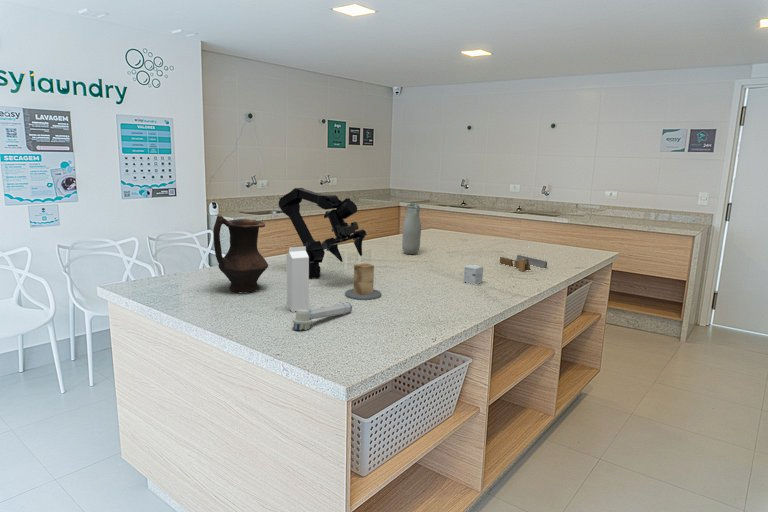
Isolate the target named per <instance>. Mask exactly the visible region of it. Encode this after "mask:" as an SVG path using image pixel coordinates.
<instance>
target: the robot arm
mask: <svg viewBox="0 0 768 512" xmlns="http://www.w3.org/2000/svg"><path fill="white" fill-rule="evenodd" d="M303 200H304V201H308V202H311V203H313V204H316V205H317V206H318V207H319V208H321V209H322V210H327V211H325V212H324V215H323V218H324V219H328V220H329V223H330V226H331V232H333V233H334V236H335V237H330V238H326V239H325V240H324V241H322V242H321V241H320V240H315V239H314V237H313V236H312V234H311V232H310V230H309V228H308V226H307V224H306V223H305V220H304V218H303V216H302V214H301V212H300V211H301V209H300V208H301V205H300V204H301V202H302V201H303ZM278 207H279V209H280V210H281V212H282V213H283V214H284V215H286V216H287V217H288V218H289V219H290V221H291V223H292V225H293V227H294V229H295V231H296V233H297V235H298V237H299V239H300V241H301V242H302V247H304V246H305V247H306V252H307V254H308V256H309V280H310V279H321V266H320V264H321V263H323V260H324V257H325V254H326V253H325V250H326V252H329V253H331V254H332V255H333V256H334V257H336V259H337V260H338V261H340V263H342V262H343V261H344V260H343V257H342V255H341V252H340V250H339V247H338V246H339V245H338V244H341V243H344V242H347V241H351V240H353V244H354V246H355V248H356V251H357V253H358V254H359V256H360V257H362V256H363V240H364V239H365V237H366V236H367V231H366V230H365V229H364V228H363V229H359V224H358V222H357V221H352V222H350V224H349V223H348V222H346V221H345V220H346V219H348V218H350V217H351V216H353V215H354V214H356V213H357V212H358V206H357V205H356V203H355V202H354V201H352V200H351V198H350V197H348V198H345V199H344V200H341V199H339V197H338V195H336V194H321V193H318V192H315V191H312V190H308V189H305V188H303V187H294V188H293V189H291V190H290V192H288V193H286V194H284V195H283V196H281V197H280V198H279V200H278ZM329 210H330V211H329Z"/></svg>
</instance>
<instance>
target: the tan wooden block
mask: <svg viewBox="0 0 768 512" xmlns="http://www.w3.org/2000/svg"><path fill="white" fill-rule="evenodd" d="M374 266H375V265H374V264H370V263H366V262H363V263H357V264H354V265H353V289H354V293H357V294H360V295H362V296H363V295H367V294H372V293H373V289H374V283H375V282H374V278H375V277H374V275H375V274H374V273H375V267H374Z"/></svg>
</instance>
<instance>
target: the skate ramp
mask: <svg viewBox="0 0 768 512" xmlns="http://www.w3.org/2000/svg"><path fill="white" fill-rule="evenodd" d="M500 263H501V264H500ZM499 264H500V265H502V264H505V265H504V266H506V265H509V266H508V267H510V266H512V267H513V268H514V267H516V268H515V269H517V268H519V269H518V271H520V272H526V271H525V270H532V269H531V266H530V265H533V266H536V267H540V268H547V269H548V261H547V259H544V260H543V259H542V258H540V257H539V258H537V257H535V256H530V255H527V256H526V255H525V254H523V255H522V253H516V258H515V259H514V258H510V257H508V256H504V255H503V256H502V255H501V254H500V257H499ZM513 265H514V266H513Z"/></svg>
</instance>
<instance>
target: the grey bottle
mask: <svg viewBox="0 0 768 512" xmlns="http://www.w3.org/2000/svg"><path fill="white" fill-rule="evenodd" d="M420 209H421V208H420V205H419V203H413V202H410V203H408V204H407V205H406V214H405V216H404V220H403V222H402V223H403V224H402V245H401V246H402V248H401V249H402V250H403V252H404V253H405V254H407V255H416V254H418V253H419V251H420V249H421V235H422V234H421V233H422V222H421V217H420V211H421V210H420Z"/></svg>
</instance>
